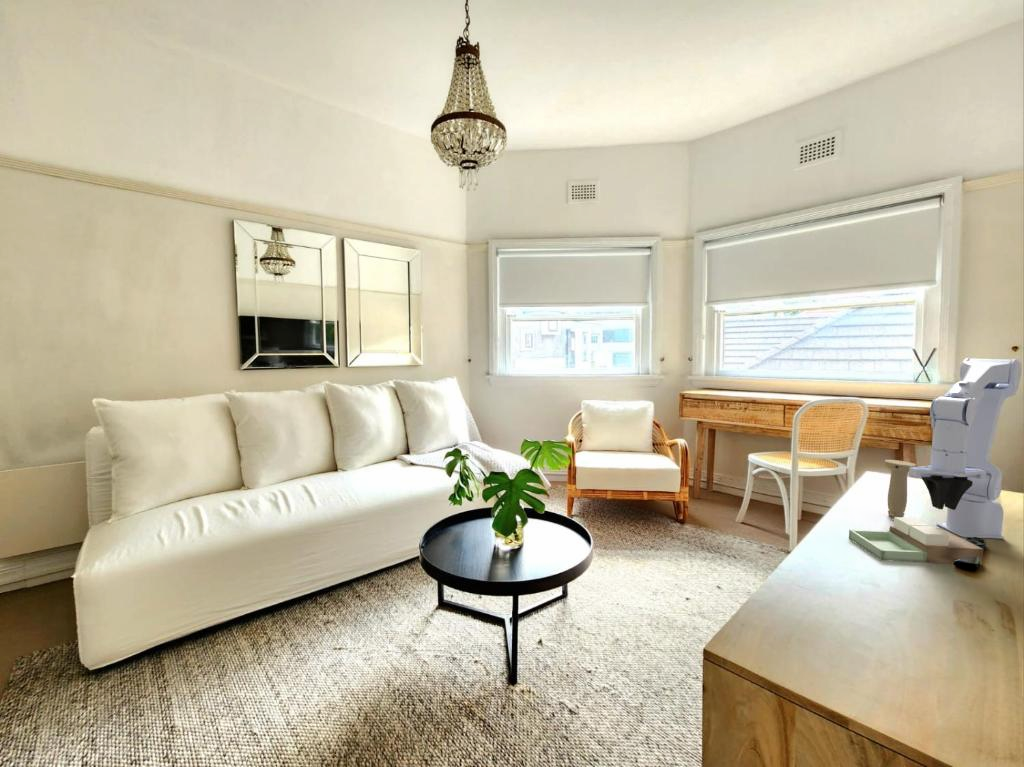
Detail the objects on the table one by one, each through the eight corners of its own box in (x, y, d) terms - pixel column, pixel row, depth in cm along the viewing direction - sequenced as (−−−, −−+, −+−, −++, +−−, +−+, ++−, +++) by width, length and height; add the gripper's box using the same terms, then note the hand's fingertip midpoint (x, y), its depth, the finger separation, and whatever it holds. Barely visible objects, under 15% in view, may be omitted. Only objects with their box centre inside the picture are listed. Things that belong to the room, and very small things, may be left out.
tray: (888, 540, 108) (889, 531, 108) (925, 562, 97) (926, 552, 97) (848, 538, 109) (849, 529, 109) (880, 560, 98) (881, 550, 98)
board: (938, 542, 107) (940, 527, 107) (981, 564, 96) (983, 548, 96) (888, 540, 108) (890, 525, 108) (925, 562, 97) (927, 546, 97)
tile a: (913, 528, 106) (914, 517, 106) (929, 536, 102) (930, 525, 102) (893, 527, 107) (894, 517, 107) (907, 535, 102) (908, 524, 102)
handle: (908, 522, 119) (912, 466, 117) (878, 514, 124) (882, 461, 122) (913, 518, 121) (918, 463, 120) (884, 510, 127) (888, 458, 125)
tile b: (931, 537, 102) (932, 526, 101) (948, 546, 97) (949, 534, 97) (909, 536, 102) (910, 525, 102) (925, 545, 98) (926, 534, 97)
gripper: (928, 453, 99) (923, 513, 100) (1001, 455, 97) (995, 515, 99) (904, 446, 106) (899, 502, 107) (971, 447, 104) (966, 504, 106)
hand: (943, 508), depth 103 cm, fingers closed
